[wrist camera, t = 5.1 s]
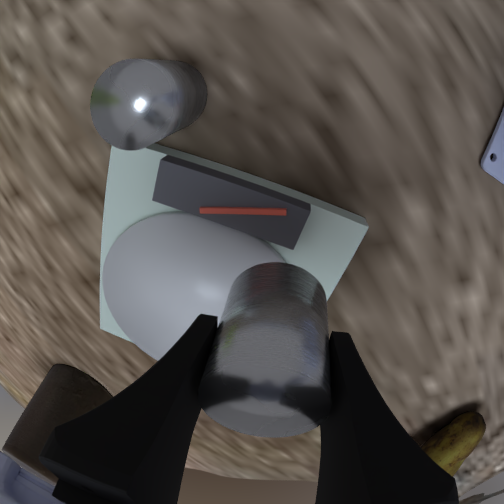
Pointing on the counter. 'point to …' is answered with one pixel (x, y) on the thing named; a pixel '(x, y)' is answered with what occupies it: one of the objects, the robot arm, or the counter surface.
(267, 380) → the cylinder
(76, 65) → the counter surface
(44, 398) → the pillar candle
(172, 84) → the cylinder
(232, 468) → the counter surface
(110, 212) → the scale
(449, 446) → the potato
